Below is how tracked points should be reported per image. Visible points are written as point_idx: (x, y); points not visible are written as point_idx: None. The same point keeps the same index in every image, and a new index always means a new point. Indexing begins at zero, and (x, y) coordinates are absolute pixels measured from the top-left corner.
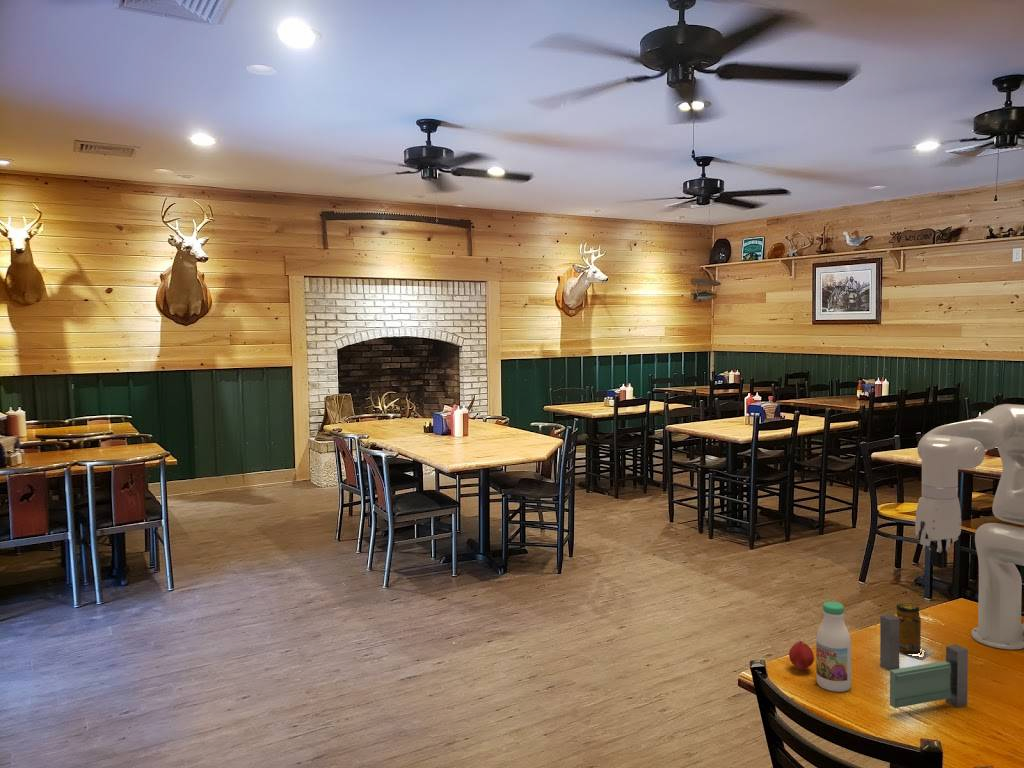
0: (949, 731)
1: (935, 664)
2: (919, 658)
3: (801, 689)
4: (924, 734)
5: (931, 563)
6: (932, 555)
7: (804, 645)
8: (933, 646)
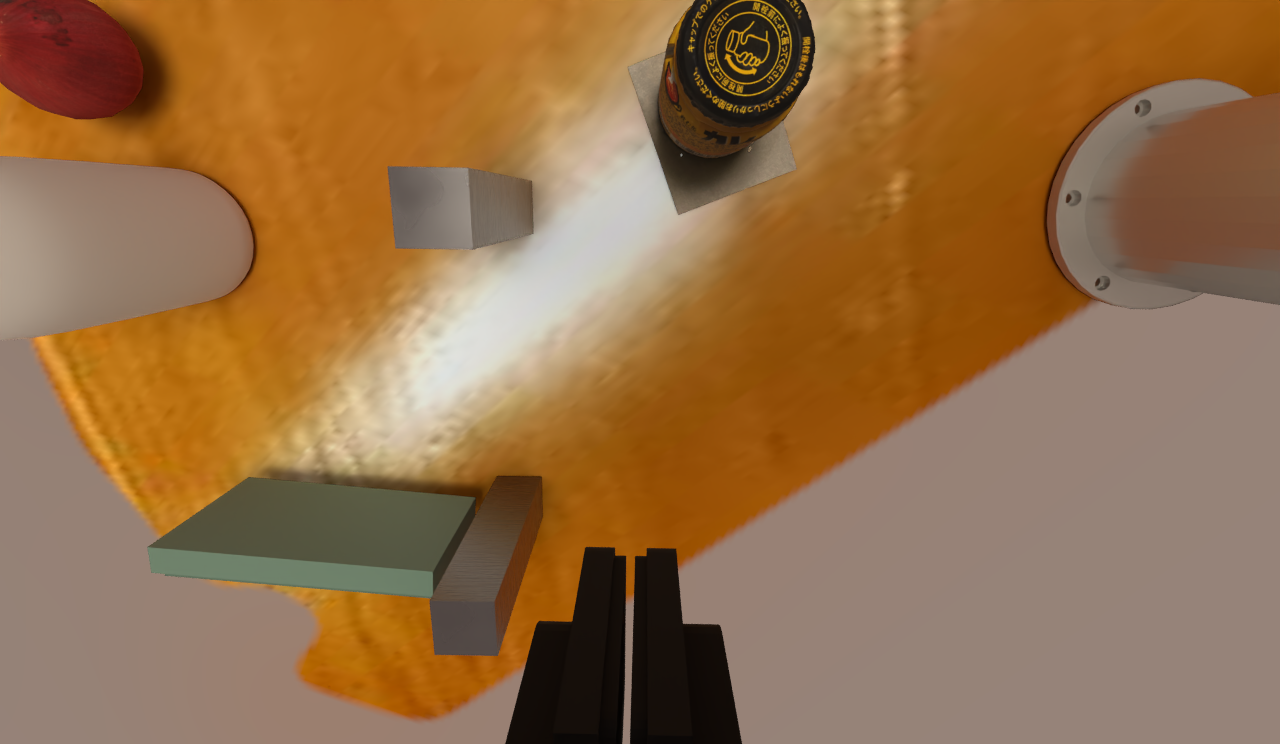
0: (371, 593)
1: (369, 579)
2: (676, 203)
3: None
4: None
5: (585, 558)
6: (516, 718)
7: (9, 63)
8: (842, 126)
